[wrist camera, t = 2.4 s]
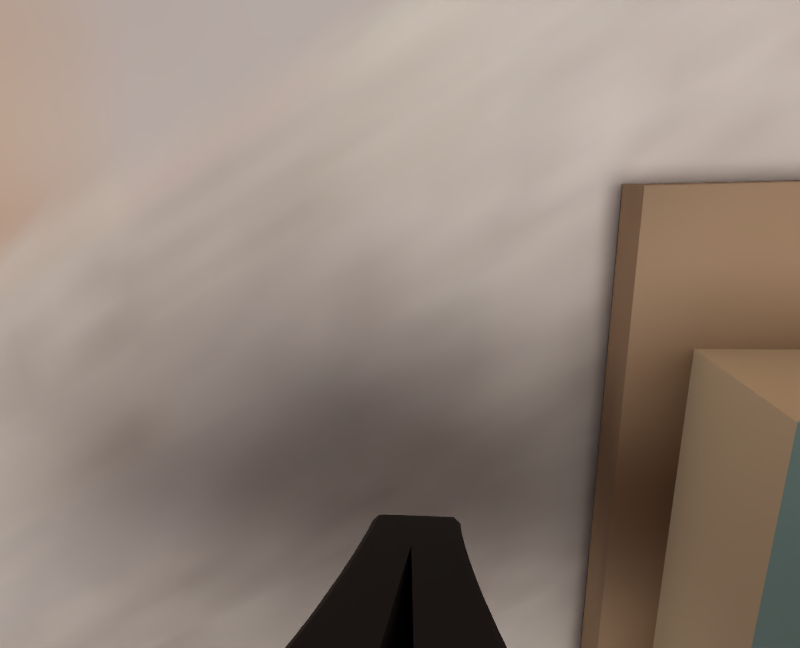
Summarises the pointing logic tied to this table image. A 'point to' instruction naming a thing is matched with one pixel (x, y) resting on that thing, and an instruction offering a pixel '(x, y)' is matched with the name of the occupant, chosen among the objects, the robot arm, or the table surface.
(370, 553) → the robot arm
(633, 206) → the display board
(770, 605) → the carton
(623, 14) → the table surface
